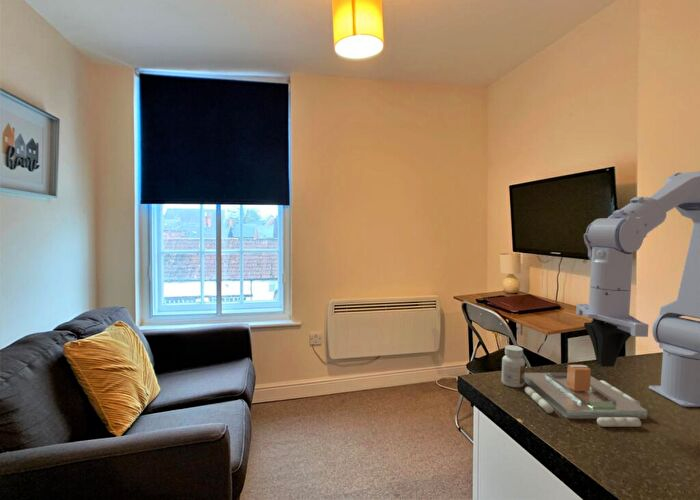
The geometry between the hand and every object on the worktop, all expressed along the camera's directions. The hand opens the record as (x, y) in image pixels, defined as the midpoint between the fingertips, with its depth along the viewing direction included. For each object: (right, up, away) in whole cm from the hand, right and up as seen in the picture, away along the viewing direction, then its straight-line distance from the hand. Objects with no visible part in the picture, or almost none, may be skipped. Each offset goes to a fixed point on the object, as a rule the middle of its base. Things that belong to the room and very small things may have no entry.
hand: (605, 365), depth 63 cm
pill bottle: (-10, -8, +13) cm, 19 cm away
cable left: (+1, -9, -3) cm, 10 cm away
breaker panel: (0, -9, +8) cm, 11 cm away
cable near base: (+8, -9, +8) cm, 14 cm away
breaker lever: (0, -7, +7) cm, 10 cm away
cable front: (-9, -9, +5) cm, 14 cm away
